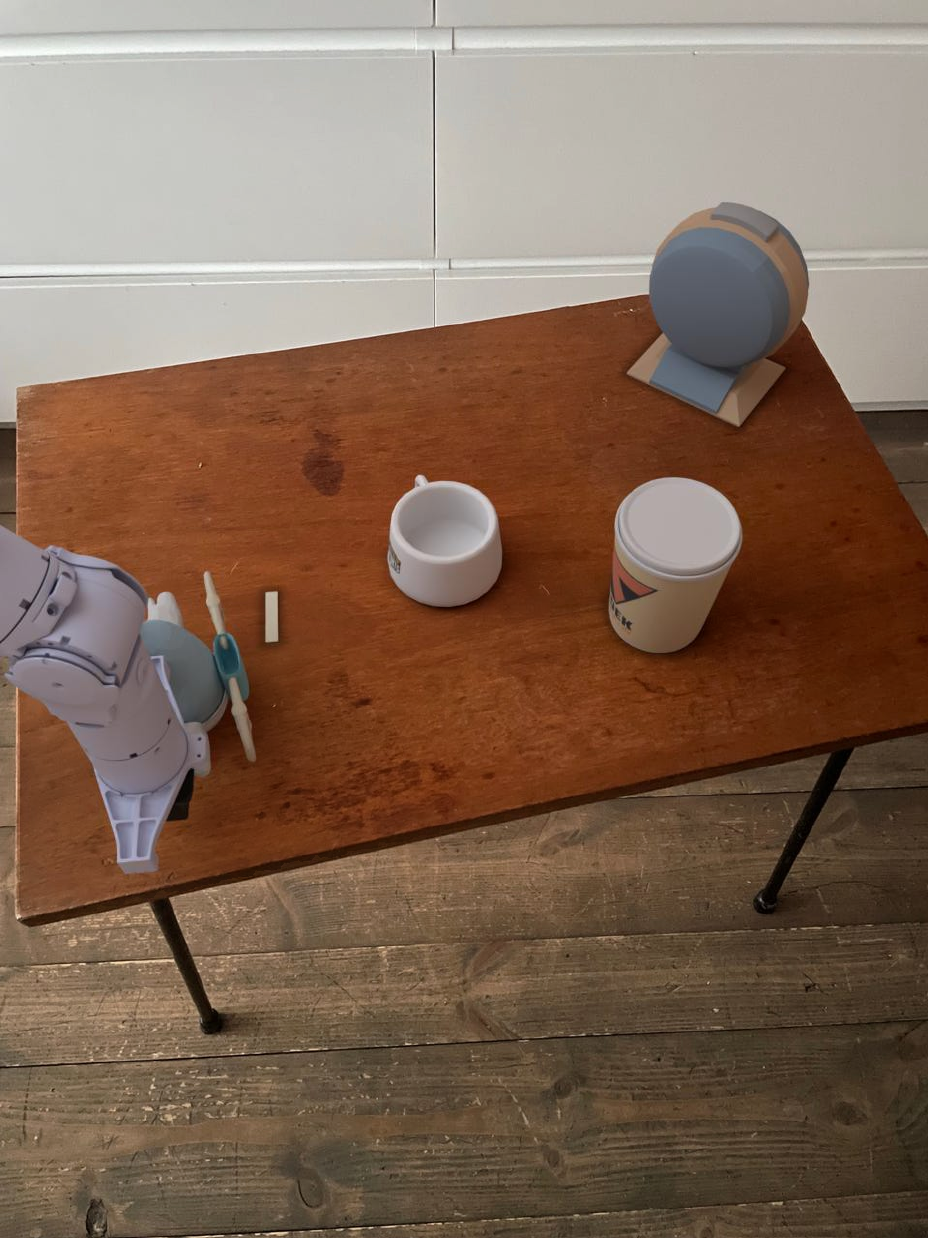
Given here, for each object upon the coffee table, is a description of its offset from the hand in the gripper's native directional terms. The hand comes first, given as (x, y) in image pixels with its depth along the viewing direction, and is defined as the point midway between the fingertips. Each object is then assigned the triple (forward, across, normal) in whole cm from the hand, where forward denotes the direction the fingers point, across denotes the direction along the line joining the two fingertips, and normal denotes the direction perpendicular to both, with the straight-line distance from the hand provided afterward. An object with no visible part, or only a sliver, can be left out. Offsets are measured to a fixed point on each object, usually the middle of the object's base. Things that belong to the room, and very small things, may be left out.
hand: (173, 813), depth 75 cm
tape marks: (+2, +18, 0) cm, 18 cm away
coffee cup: (+3, +15, -38) cm, 41 cm away
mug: (+3, +23, -21) cm, 31 cm away
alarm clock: (+3, +43, -49) cm, 65 cm away
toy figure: (+3, +9, 0) cm, 10 cm away
